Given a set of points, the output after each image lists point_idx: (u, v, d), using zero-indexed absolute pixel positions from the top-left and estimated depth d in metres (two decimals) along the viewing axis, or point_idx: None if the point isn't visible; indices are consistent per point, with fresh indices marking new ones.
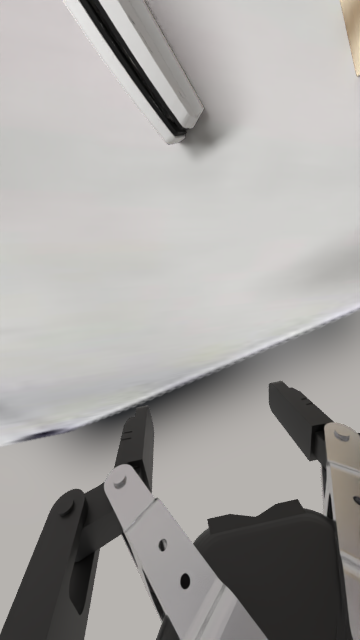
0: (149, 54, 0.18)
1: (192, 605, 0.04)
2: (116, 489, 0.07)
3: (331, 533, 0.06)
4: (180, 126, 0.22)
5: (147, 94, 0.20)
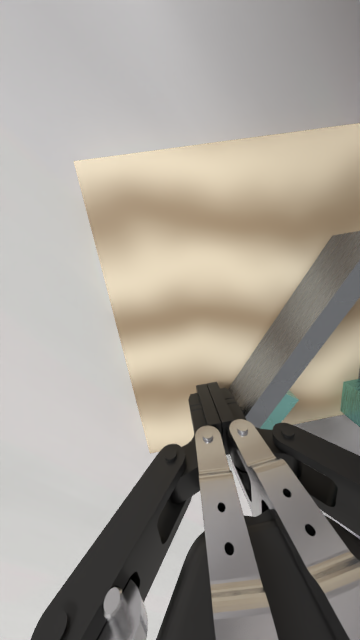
0: None
1: (228, 570, 0.05)
2: (209, 443, 0.09)
3: (286, 548, 0.05)
4: None
5: None
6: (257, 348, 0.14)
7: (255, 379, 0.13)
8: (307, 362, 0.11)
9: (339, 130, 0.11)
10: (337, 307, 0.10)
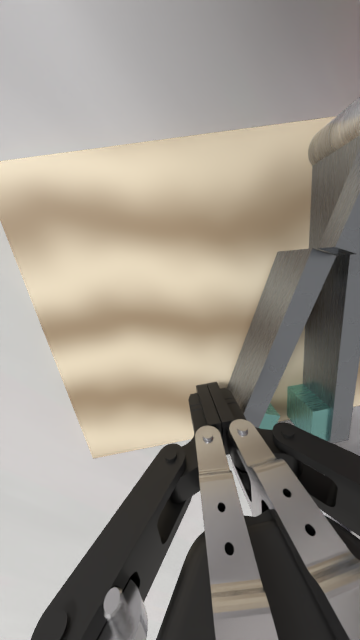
0: None
1: (228, 570, 0.05)
2: (209, 443, 0.09)
3: (286, 548, 0.05)
4: None
5: None
6: (234, 370, 0.14)
7: None
8: (276, 383, 0.12)
9: (258, 131, 0.11)
10: (289, 330, 0.11)
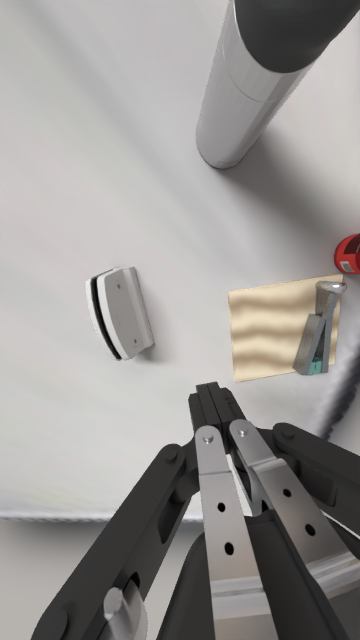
0: (115, 334, 0.31)
1: (228, 570, 0.05)
2: (209, 443, 0.09)
3: (286, 548, 0.05)
4: None
5: (108, 342, 0.32)
6: (298, 351, 0.43)
7: (301, 361, 0.42)
8: (314, 352, 0.40)
9: (301, 282, 0.39)
10: (316, 337, 0.39)
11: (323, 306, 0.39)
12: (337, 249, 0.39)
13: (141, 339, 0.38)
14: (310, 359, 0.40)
